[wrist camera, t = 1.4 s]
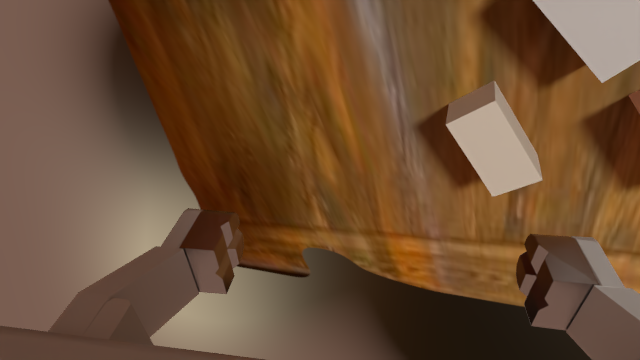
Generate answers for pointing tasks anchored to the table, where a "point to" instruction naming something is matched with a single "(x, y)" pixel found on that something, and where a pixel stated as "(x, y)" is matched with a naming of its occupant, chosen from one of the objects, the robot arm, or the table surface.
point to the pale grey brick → (598, 31)
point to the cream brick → (493, 140)
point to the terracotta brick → (636, 100)
